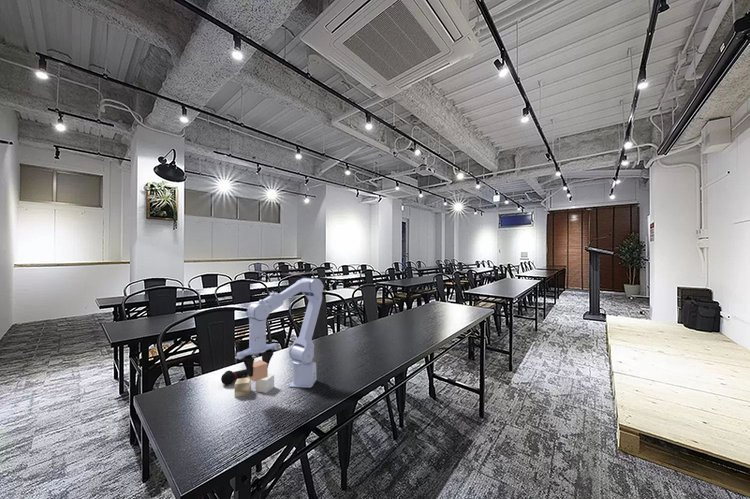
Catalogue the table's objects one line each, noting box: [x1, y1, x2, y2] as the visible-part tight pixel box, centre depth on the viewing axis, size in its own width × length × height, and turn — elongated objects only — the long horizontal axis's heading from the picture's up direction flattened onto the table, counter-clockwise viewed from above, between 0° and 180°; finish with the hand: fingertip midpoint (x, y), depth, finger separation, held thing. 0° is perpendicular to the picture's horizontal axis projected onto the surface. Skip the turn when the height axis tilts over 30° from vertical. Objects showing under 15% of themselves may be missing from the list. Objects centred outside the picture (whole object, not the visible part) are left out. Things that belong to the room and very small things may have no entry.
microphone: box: [220, 368, 248, 386], centre depth 126 cm, size 6×6×20 cm
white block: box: [255, 373, 275, 394], centre depth 115 cm, size 5×5×5 cm
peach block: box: [247, 359, 269, 383], centre depth 105 cm, size 5×5×5 cm
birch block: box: [234, 377, 252, 398], centre depth 111 cm, size 5×5×5 cm
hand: (257, 373), depth 105 cm, fingers closed on peach block, 5 cm apart
